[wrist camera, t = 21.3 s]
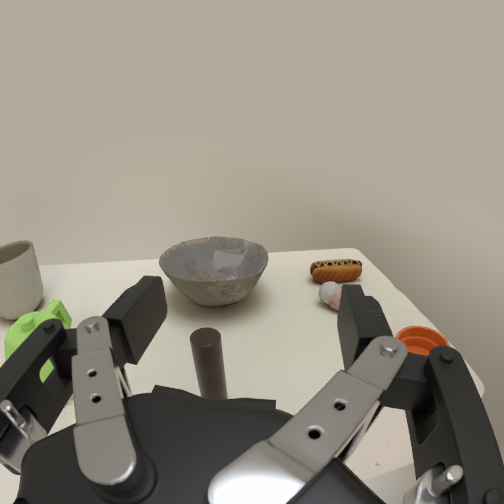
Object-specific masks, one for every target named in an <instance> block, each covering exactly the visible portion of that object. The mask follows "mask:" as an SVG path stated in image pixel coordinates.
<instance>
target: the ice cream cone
mask: <svg viewBox="0 0 504 504" xmlns="http://www.w3.org/2000/svg"><path fill="white" fill-rule="evenodd" d="M341 290H342V287H340V286H339V285H338V284H337V283H335V282H332V281H329V282H325V283H324V284H322V285H321V287H320V289H319V297H320V299H321V300H322V301H323V302H324V303H326V304H329V305H330V306H331V308H333V309H335V310H339V304H340V298H341Z"/></svg>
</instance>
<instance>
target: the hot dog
mask: <svg viewBox="0 0 504 504" xmlns="http://www.w3.org/2000/svg"><path fill="white" fill-rule="evenodd" d="M310 272H311V275H312V277H313V279H314V280H315V281H316V282H319V283H325V282H329V281H332V282H345V281H350V280H354V279H356V278H358V277H359V276H360V275H361V272H362V263H361V262H360V261H355V260H351V259H343V260H326V261H318V262H314V263H312V265H311V268H310Z"/></svg>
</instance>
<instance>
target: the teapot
mask: <svg viewBox="0 0 504 504" xmlns="http://www.w3.org/2000/svg"><path fill="white" fill-rule="evenodd" d="M52 318H57V319H60V320H61V321H62V323H63V325H64V328H65V329H70V326H71V321H72V318H71V317H70V315H69V314H68V312H67V310H66V309H65V307H64V305H63V304H62V302H61V300H52V301H51V303H50V304H49V305H48V306H47V308H46V309H45V310H44V311H43V312H40V311H34V312H29V313H27V314H24V315H22V316H21V317H20V318H19V319H18V320H17V321H16V322H15V323H14V324H13V325H12V326H11V327H10V329H9V330H8V332H7V333H6V336H5V356H6V360H7V359H8V358H9V357H10V356H11V355H12V353H13V352H14V351H15V350H16V349H17V348H18V347H19V346H20V345H21V343H22V342H23V341H24V340H25V339H26V338H27V337H28V336H29V335H30V334H31V333H32V332H33V331H34V329H35V328H36V327H37V326H38V325H39V324H40V323H42V322H43V321H45V320H48V319H52ZM0 367H1V365H0ZM53 369H54V367H53V365H52V364H51V362H50V360H49V359H48V360H47V362H46V363H45V364H44V365H43V367H42V368H41V370H40V379H41V381H42V383H43V382H44V381H45V380H46V378H47V377H48V376H49V374H50V373H51V371H52V370H53Z"/></svg>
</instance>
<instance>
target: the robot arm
mask: <svg viewBox="0 0 504 504" xmlns="http://www.w3.org/2000/svg"><path fill="white" fill-rule="evenodd" d="M166 315H167V302H166V297H165V292H164V287H163V281H162V279H161V277H159V276H143V277H142V279H141V280H140V281H139V282H138V283H137V284H136V285H134V286H132V287H130V288H128V289H127V290H125V291H124V292H123V293H122V294H121V296H120V297H119V298H118V299H117V300H116V301H115V302H114V303H113V304H112V305H111V306H110V307H109V309H108V310H107V311H106V312H105V313H104V314H103V315H102V316H101V317H100V316H94V317H90V318H87V319H85V320H83V321H82V322H81V323H80V324H79V325H78V326H77V328H74V329H65V328H64V325H63V323H62V321H61V320H60V319H57V318H52V319H48V320H45V321H43V322H42V323H40V324H39V325H38V326H37V327H36V328H35V329H34V331H33V332H32V333H31V334H30V335H29V336H28V337H27V338H26V339H25V340H24V341H23V342H22V343H21V345H20V346H19V347H18V348H17V349H16V350H15V351H14V352H13V353H12V355H11V356H10V357H9V358H8V359H7V360H6V361H5V363H4V364H3V365H2V366H1V367H0V463H1V464H2V465H4V466H5V467H6V468H7V469H8V470H9V471H11V472H12V473H13V474H16V475H20V485H19V490H18V494H17V498H16V500H15V502H14V503H13V504H386V503H385V502H384V501H383V500H381V499H380V498H379V497H378V496H377V495H376V494H375V493H374V492H373V491H372V490H371V489H370V488H368V486H366V485H365V484H364V483H363V482H362V481H361V480H360V479H359V478H358V477H357V476H356V475H355V474H354V473H353V472H352V471H351V470H350V469H349V468H348V467H347V466H346V465H345V463H346V461H347V460H348V459H349V458H350V456H351V455H352V454H353V452H354V451H355V449H356V448H357V446H358V445H359V443H360V442H361V440H362V439H363V437H364V436H365V435H366V433H367V432H368V430H369V429H370V428H371V426H372V425H373V423H374V422H375V420H376V419H377V417H378V416H379V414H380V413H381V411H382V410H383V408H384V407H391V408H397V409H403V410H405V413H406V418H407V423H408V429H409V434H410V440H411V446H412V453H413V459H414V467H415V475H416V482H414V483H413V484H412V485H411V486H410V487H409V488H408V489H407V491H406V492H405V494H404V497H403V504H504V465H503V461H502V458H501V454H500V451H499V447H498V445H497V441H496V438H495V435H494V432H493V429H492V427H491V424H490V421H489V418H488V416H487V413H486V410H485V408H484V405H483V403H482V400H481V398H480V395H479V393H478V391H477V388H476V386H475V384H474V381H473V379H472V377H471V375H470V372H469V370H468V368H467V366H466V364H465V362H464V360H463V358H462V356H461V354H460V353H459V352H458V351H457V350H455V349H453V348H451V347H449V346H436V347H434V348H432V349H431V351H430V353H429V355H428V356H426V355H420V354H415V353H411V352H408V349H407V347H406V345H405V344H404V343H403V342H402V341H401V340H399V339H397V338H395V337H393V334H392V332H391V330H390V327H389V325H388V322H387V320H386V318H385V315H384V313H383V311H382V308H381V306H380V304H379V302H378V301H377V300H376V299H374V298H373V297H372V296H365V295H364V292H363V290H362V287H361V285H360V284H343V286H342V290H341V298H340V304H339V311H338V319H337V327H338V333H339V339H340V345H341V350H342V356H343V362H344V368H345V371H344V370H340V371H338V372H337V373H336V374H335V375H334V376H333V377H332V379H331V380H330V381H329V382H328V383H327V384H326V385H325V386H324V387H323V388H322V389H321V390H320V391H319V392H318V393H317V394H316V395H315V396H314V397H313V398H312V399H311V400H310V401H309V402H308V403H307V404H306V405H305V406H304V407H303V408H302V409H301V410H300V411H299V412H298V413H297V414H296V415H295V416H293V415H291V414H289V413H287V412H284V411H282V410H278V409H275V408H276V400H267V399H253V398H237V399H226V400H208V399H205V398H202V397H199V396H197V395H194V394H192V393H189V392H187V391H184V390H181V389H175V388H169V387H164V386H159V385H155V387H154V389H153V391H152V393H142V394H137V395H133V394H132V391H131V387H130V384H129V381H128V377H127V373H126V370H125V368H124V365H125V364H126V363H130V364H135V365H137V363H138V362H139V360H140V358H141V357H142V355H143V354H144V352H145V350H146V349H147V347H148V345H149V344H150V342H151V341H152V339H153V337H154V336H155V334H156V333H157V331H158V329H159V328H160V326H161V325H162V323H163V322H164V320H165V318H166ZM48 359H49V360H50V362H51V364H52V365H53V367H54V369H53V370H52V371H51V373H50V374H49V376H48V377H47V378H46V380H45V381H44V382H43V383H42V381H41V379H40V370H41V368H42V367H43V365H44V364H45V363H46V362H47V360H48ZM72 393H73V395H74V406H75V416H76V423H75V424H73V425H71V426H69V427H67V428H65V429H62V430H60V431H58V432H56V433H54V434H51V435H49V436H47V435H48V433H49V432H50V430H51V428H52V426H53V425H54V423H55V421H56V420H57V418H58V416H59V415H60V413H61V411H62V410H63V408H64V406H65V405H66V403H67V401H68V400H69V398H70V397H71V395H72Z"/></svg>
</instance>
